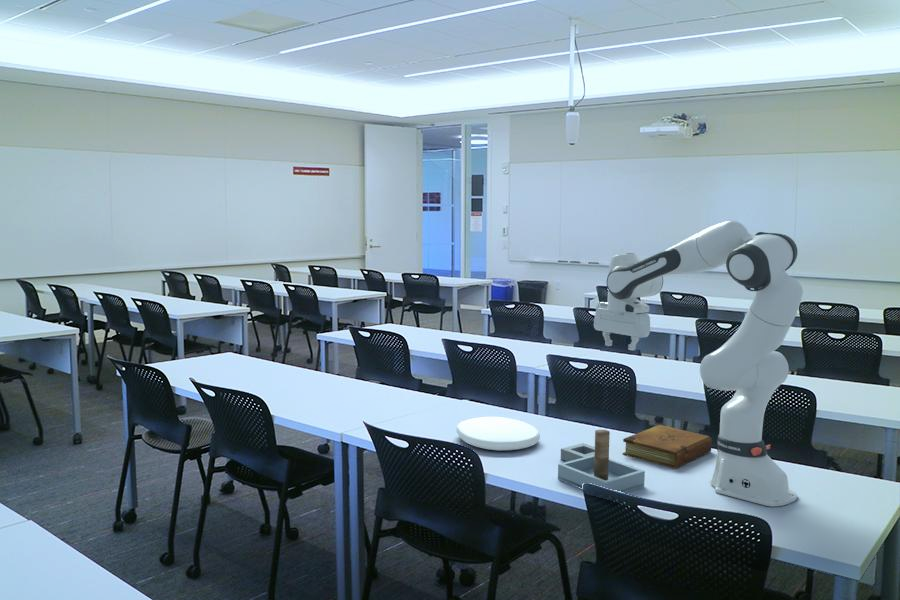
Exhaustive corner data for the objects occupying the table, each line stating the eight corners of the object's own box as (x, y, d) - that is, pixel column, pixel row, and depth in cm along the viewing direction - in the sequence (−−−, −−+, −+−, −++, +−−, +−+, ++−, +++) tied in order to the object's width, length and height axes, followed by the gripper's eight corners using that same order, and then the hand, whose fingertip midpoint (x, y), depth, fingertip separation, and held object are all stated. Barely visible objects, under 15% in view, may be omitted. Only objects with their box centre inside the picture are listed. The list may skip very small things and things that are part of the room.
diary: (676, 471, 221) (677, 452, 220) (622, 456, 234) (623, 438, 233) (711, 453, 237) (711, 436, 237) (658, 440, 250) (659, 424, 250)
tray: (644, 486, 206) (644, 471, 205) (605, 498, 197) (605, 482, 196) (596, 468, 220) (596, 454, 220) (557, 479, 211) (558, 464, 210)
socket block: (606, 462, 226) (607, 451, 226) (584, 468, 220) (584, 457, 220) (583, 453, 234) (583, 443, 234) (560, 459, 228) (560, 448, 228)
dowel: (611, 480, 208) (612, 432, 206) (601, 483, 205) (602, 434, 204) (600, 476, 211) (601, 428, 209) (590, 478, 209) (592, 431, 207)
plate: (555, 429, 244) (499, 446, 227) (553, 448, 246) (497, 465, 228) (496, 404, 265) (440, 417, 247) (495, 421, 266) (439, 436, 248)
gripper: (590, 301, 237) (588, 344, 239) (640, 308, 221) (638, 353, 222) (603, 300, 241) (602, 342, 242) (654, 307, 224) (652, 351, 226)
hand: (620, 347), depth 232 cm, fingers open, 8 cm apart
